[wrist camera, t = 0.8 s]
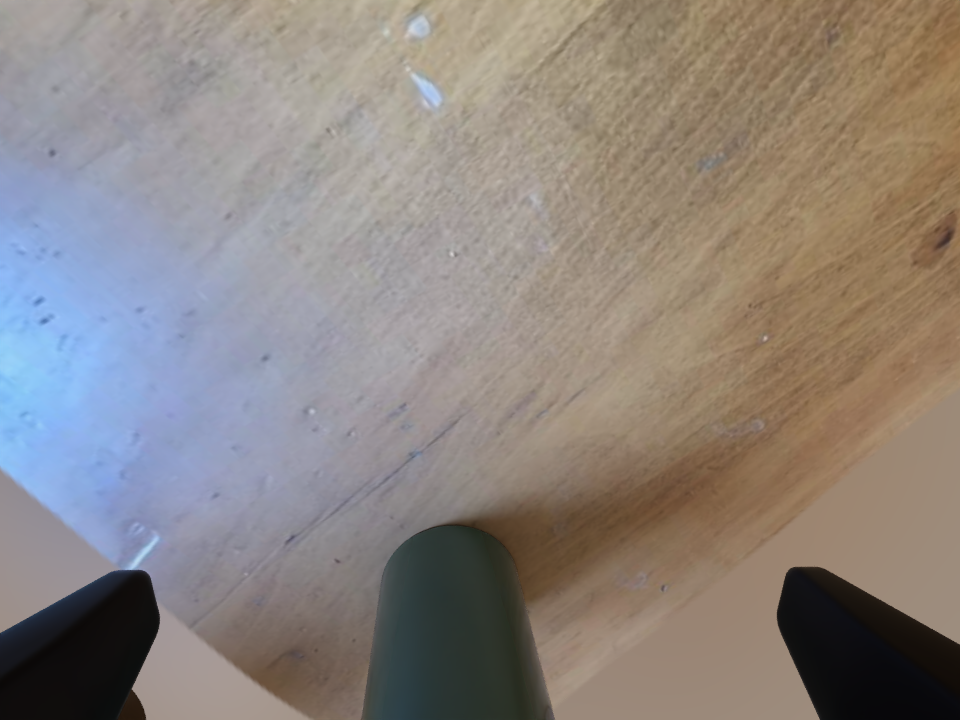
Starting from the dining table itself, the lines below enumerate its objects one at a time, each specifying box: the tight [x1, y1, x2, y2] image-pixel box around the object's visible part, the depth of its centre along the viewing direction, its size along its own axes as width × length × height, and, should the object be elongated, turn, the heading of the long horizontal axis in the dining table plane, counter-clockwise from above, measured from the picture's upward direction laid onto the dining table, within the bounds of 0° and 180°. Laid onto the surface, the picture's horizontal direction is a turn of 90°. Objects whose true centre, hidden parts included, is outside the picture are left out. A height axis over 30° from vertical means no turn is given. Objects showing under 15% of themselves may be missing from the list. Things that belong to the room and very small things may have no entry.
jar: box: [361, 525, 555, 720], centre depth 16 cm, size 6×6×12 cm
